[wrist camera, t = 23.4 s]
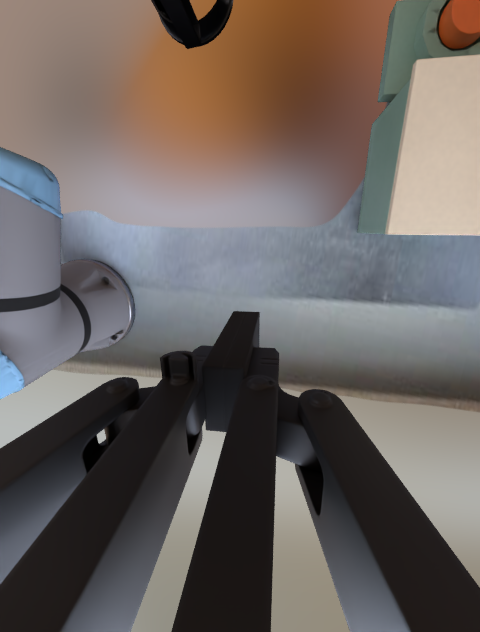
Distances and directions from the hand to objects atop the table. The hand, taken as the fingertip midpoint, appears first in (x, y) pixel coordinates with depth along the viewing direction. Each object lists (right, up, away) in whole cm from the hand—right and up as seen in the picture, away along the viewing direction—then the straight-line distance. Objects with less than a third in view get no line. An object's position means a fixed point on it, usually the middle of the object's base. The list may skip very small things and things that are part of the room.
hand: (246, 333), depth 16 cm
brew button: (+21, +30, +10) cm, 38 cm away
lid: (+20, +15, +8) cm, 26 cm away
